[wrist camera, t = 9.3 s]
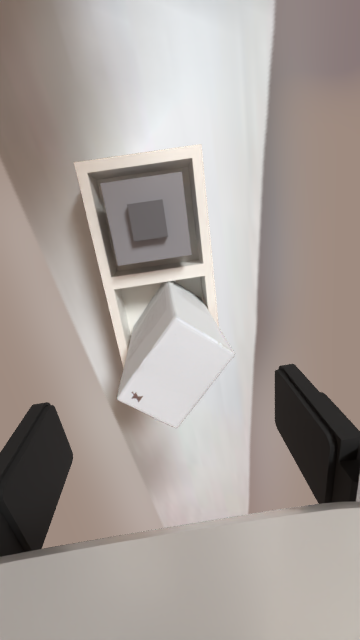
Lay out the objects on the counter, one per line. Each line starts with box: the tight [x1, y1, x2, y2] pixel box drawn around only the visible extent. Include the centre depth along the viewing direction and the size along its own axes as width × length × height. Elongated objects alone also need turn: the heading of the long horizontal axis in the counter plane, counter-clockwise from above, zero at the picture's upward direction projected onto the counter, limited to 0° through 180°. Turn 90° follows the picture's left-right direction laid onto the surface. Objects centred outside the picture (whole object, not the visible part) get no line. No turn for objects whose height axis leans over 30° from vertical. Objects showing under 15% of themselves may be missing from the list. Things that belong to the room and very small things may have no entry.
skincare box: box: [117, 281, 235, 428], centre depth 20 cm, size 6×4×12 cm
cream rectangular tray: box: [74, 144, 219, 369], centre depth 23 cm, size 18×9×4 cm, turn 8°
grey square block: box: [100, 172, 192, 266], centre depth 21 cm, size 6×6×5 cm
